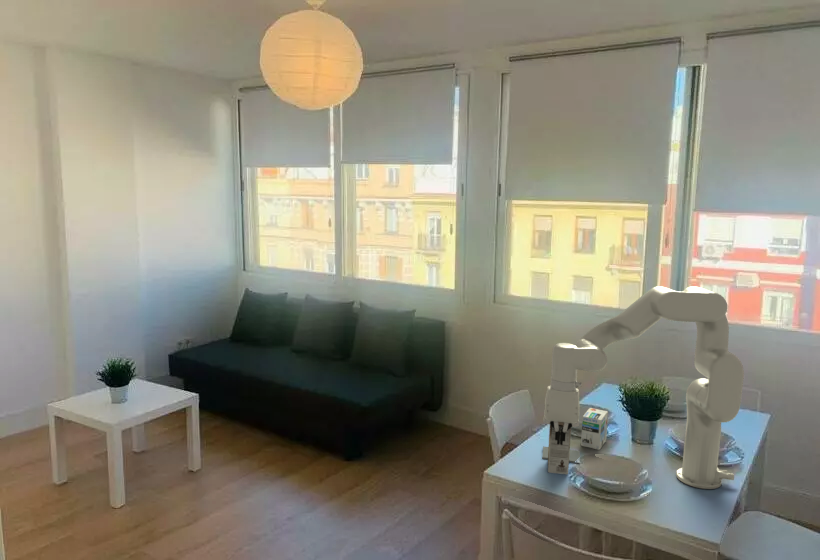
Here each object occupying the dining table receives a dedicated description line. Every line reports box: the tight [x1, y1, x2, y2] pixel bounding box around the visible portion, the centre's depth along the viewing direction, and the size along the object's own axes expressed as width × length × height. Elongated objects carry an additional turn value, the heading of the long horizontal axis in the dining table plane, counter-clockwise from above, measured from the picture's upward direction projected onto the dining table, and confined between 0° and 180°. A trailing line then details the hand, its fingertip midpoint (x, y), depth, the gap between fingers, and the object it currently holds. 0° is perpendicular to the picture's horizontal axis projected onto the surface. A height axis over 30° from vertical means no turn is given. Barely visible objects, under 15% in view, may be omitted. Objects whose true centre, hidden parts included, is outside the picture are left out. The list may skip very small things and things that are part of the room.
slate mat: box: [541, 446, 581, 464], centre depth 202 cm, size 12×9×1 cm
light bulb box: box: [580, 407, 609, 451], centre depth 212 cm, size 11×7×11 cm, turn 150°
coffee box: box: [547, 422, 572, 475], centre depth 192 cm, size 9×6×16 cm
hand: (559, 442), depth 185 cm, fingers closed
